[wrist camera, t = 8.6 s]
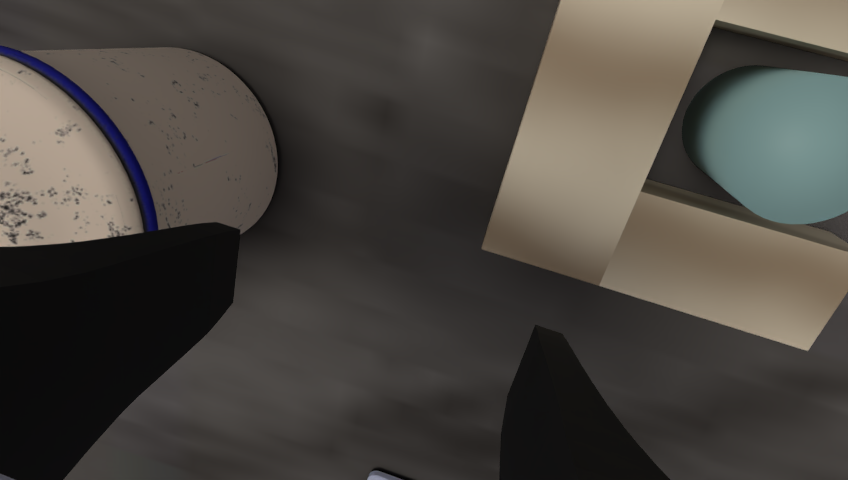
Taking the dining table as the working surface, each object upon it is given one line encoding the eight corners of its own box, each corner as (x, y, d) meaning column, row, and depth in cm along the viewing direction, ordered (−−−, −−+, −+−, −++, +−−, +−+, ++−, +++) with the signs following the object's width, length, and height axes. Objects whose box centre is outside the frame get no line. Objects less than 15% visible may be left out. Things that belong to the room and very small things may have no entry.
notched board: (778, 316, 20) (807, 350, 18) (487, 226, 22) (481, 249, 19) (1003, -47, 15) (1084, -62, 13) (604, -139, 16) (614, -167, 14)
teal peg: (771, 192, 19) (844, 242, 14) (663, 162, 19) (701, 200, 15) (832, 83, 17) (935, 99, 13) (712, 52, 18) (772, 57, 13)
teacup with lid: (130, -2, 21) (-276, -41, 11) (319, 113, 21) (101, 187, 11) (73, 226, 26) (-244, 355, 16) (226, 319, 26) (15, 509, 16)
